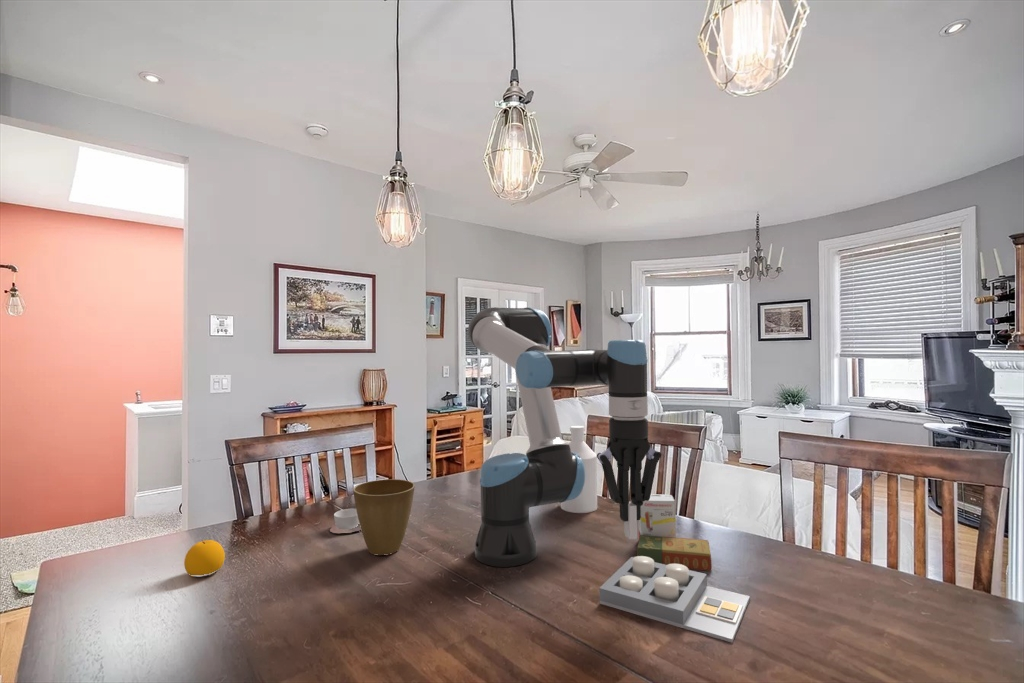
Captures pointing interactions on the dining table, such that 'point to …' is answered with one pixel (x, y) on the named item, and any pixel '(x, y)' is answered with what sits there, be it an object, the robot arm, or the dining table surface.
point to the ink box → (658, 516)
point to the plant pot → (383, 513)
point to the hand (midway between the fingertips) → (630, 536)
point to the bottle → (589, 492)
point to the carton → (676, 551)
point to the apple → (204, 558)
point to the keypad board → (679, 603)
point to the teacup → (346, 519)
